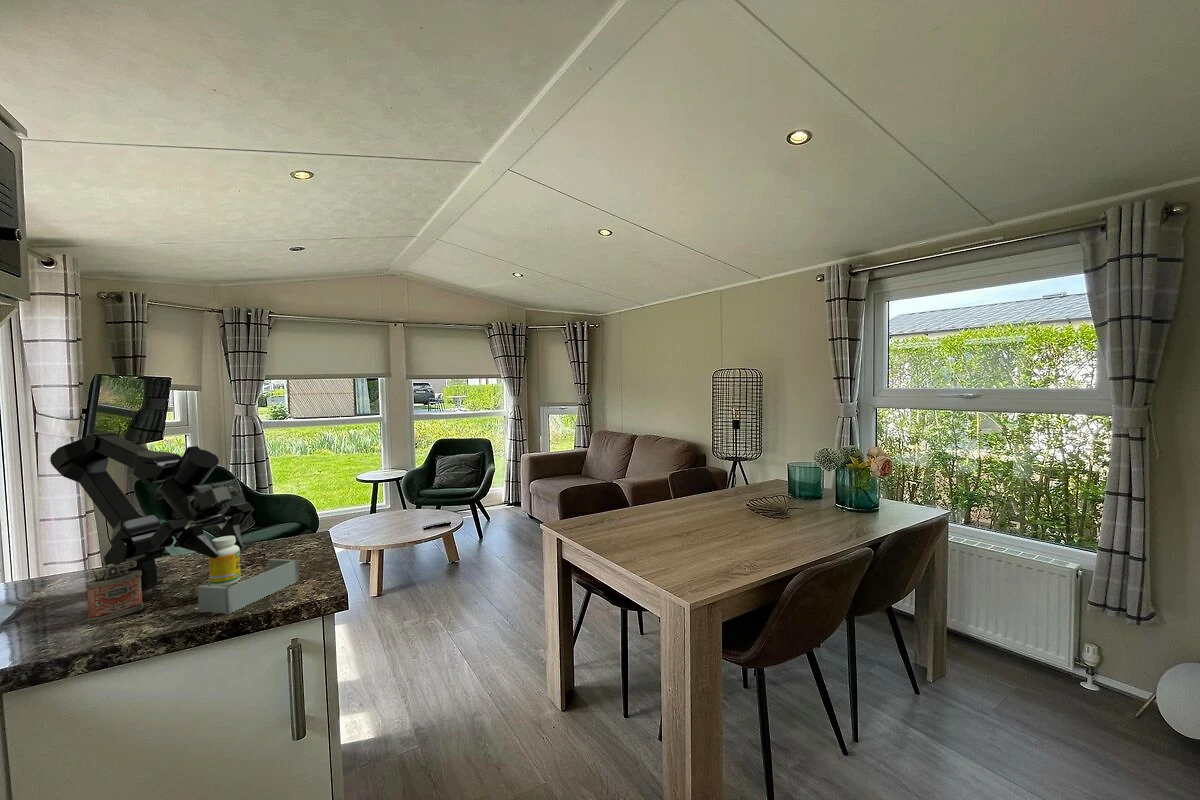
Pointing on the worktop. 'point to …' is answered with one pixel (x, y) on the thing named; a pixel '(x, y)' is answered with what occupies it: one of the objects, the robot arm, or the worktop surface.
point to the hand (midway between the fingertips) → (229, 552)
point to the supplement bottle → (225, 562)
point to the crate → (248, 588)
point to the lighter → (114, 592)
